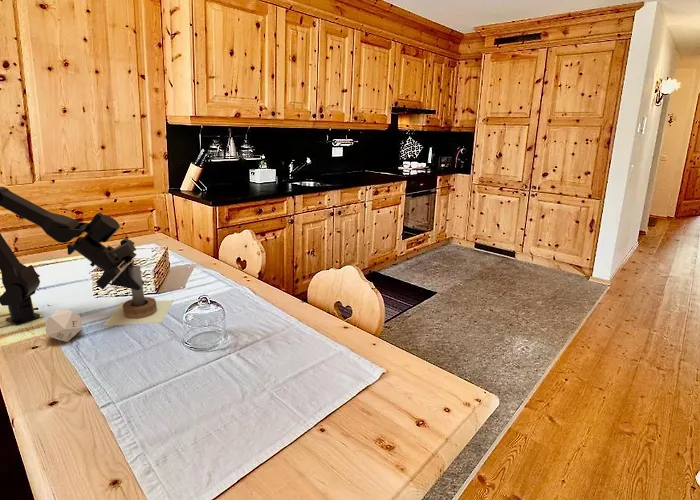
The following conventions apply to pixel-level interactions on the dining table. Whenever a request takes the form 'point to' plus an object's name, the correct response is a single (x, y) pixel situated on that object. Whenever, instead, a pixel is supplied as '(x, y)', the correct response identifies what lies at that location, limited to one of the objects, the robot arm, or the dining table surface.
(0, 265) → the robot arm
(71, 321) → the die
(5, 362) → the dining table surface
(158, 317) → the mat
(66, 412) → the dining table surface
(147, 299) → the bead
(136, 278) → the grey rounded peg
